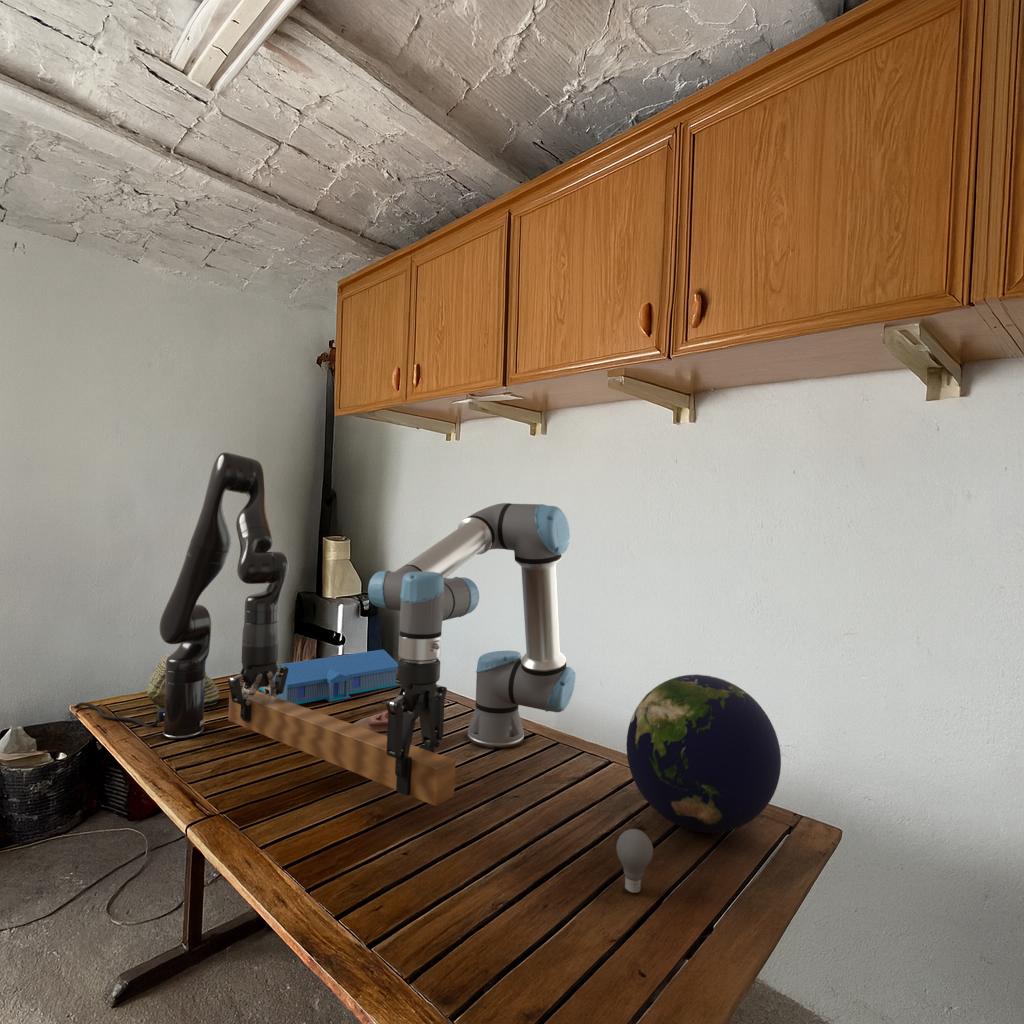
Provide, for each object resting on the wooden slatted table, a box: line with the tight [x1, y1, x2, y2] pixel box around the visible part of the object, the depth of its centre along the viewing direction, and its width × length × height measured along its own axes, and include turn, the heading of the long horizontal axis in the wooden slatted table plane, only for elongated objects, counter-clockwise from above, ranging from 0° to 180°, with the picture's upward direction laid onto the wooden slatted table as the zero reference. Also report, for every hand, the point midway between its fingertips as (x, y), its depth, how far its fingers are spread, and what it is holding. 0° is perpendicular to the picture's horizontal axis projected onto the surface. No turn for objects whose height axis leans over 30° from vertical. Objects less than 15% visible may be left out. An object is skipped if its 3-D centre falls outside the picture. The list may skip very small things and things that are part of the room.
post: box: [227, 687, 457, 807], centre depth 127 cm, size 62×5×6 cm, turn 56°
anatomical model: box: [353, 710, 388, 733], centre depth 176 cm, size 13×4×12 cm
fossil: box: [147, 654, 221, 711], centre depth 185 cm, size 9×18×15 cm, turn 132°
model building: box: [258, 649, 399, 705], centre depth 208 cm, size 39×24×10 cm, turn 132°
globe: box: [626, 673, 782, 834], centre depth 129 cm, size 30×30×30 cm
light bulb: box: [615, 828, 654, 894], centre depth 106 cm, size 6×6×10 cm
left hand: (257, 717), depth 141 cm, fingers closed on post, 5 cm apart
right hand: (414, 787), depth 114 cm, fingers closed on post, 5 cm apart
